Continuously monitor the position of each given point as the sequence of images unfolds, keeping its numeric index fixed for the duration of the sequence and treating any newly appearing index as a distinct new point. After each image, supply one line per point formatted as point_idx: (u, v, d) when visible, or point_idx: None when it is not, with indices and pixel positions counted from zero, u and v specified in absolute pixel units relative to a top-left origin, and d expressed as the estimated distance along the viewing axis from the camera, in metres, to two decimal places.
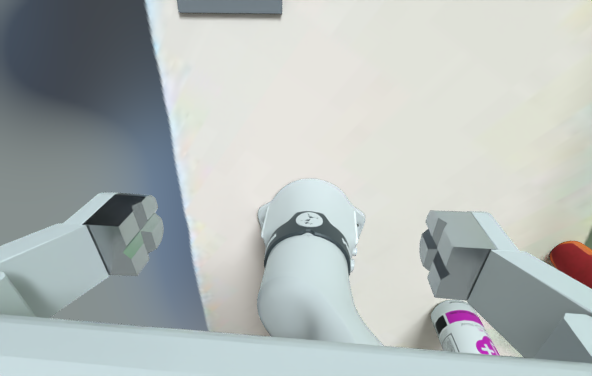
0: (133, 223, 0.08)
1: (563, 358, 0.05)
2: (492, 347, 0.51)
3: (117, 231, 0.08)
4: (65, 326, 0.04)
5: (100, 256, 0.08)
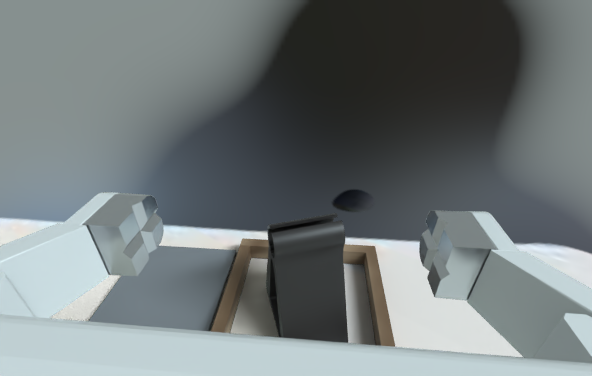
0: (133, 223, 0.08)
1: (564, 358, 0.05)
2: None
3: (117, 231, 0.08)
4: (65, 326, 0.04)
5: (100, 256, 0.08)
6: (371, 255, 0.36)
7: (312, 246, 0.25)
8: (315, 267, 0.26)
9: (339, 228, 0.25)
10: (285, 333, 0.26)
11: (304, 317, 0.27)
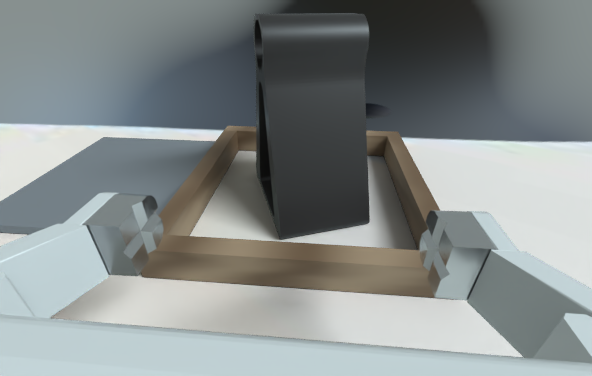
0: (133, 223, 0.08)
1: (563, 358, 0.05)
2: None
3: (117, 231, 0.08)
4: (65, 326, 0.04)
5: (100, 256, 0.08)
6: (394, 138, 0.27)
7: (320, 42, 0.16)
8: (324, 88, 0.17)
9: (360, 21, 0.17)
10: (279, 189, 0.18)
11: (307, 167, 0.18)
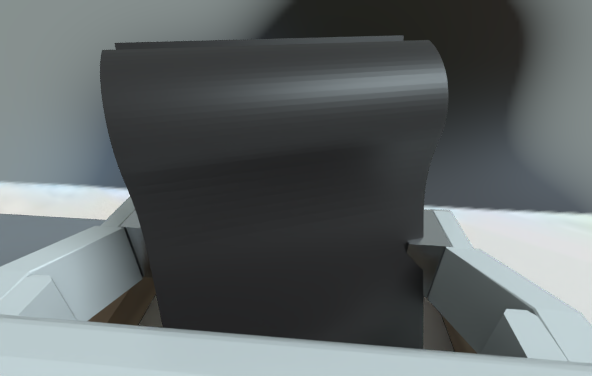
0: None
1: (502, 353, 0.05)
2: None
3: None
4: (65, 326, 0.04)
5: (135, 258, 0.08)
6: None
7: (309, 132, 0.05)
8: (320, 236, 0.07)
9: (425, 63, 0.06)
10: None
11: None
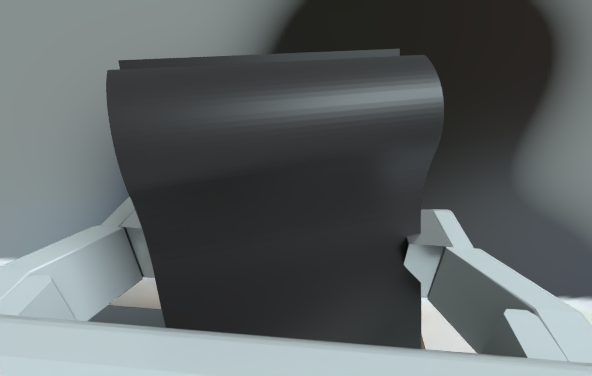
0: None
1: (503, 353, 0.05)
2: None
3: None
4: (65, 326, 0.04)
5: (135, 259, 0.08)
6: None
7: (310, 146, 0.05)
8: (321, 246, 0.07)
9: (421, 78, 0.06)
10: None
11: None
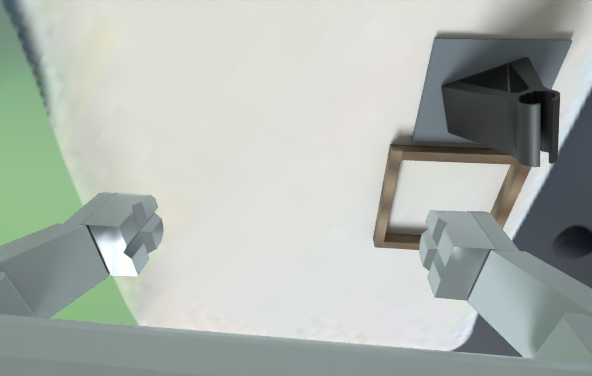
0: (133, 223, 0.08)
1: (563, 358, 0.05)
2: None
3: (117, 231, 0.08)
4: (65, 326, 0.04)
5: (99, 256, 0.08)
6: None
7: (518, 136, 0.27)
8: (504, 130, 0.29)
9: (530, 163, 0.27)
10: (459, 91, 0.33)
11: (468, 109, 0.33)
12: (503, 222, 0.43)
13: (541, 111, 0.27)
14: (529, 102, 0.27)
